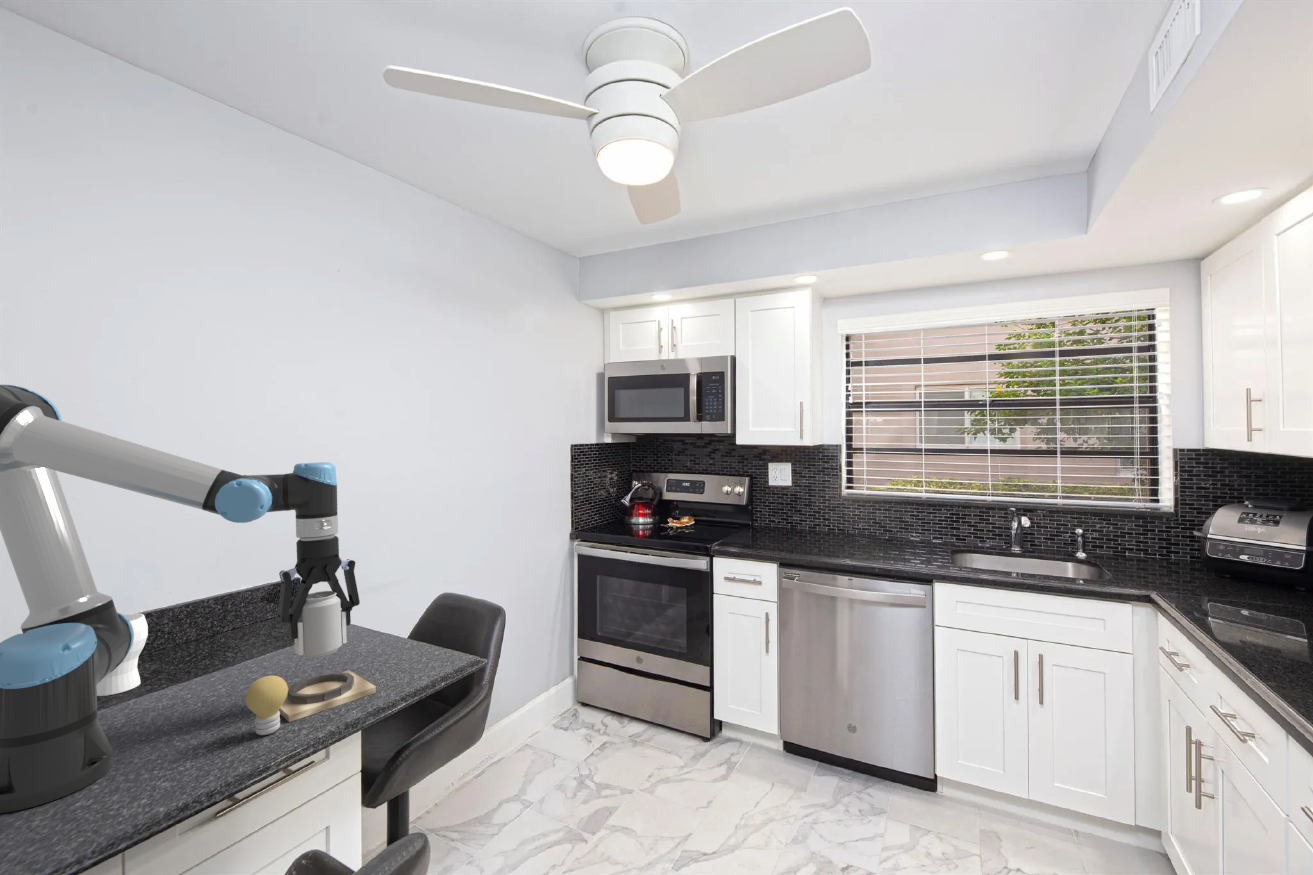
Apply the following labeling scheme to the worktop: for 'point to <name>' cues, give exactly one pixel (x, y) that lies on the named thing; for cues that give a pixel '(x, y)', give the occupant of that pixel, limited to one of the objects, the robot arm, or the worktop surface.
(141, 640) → the cup
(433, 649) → the worktop surface
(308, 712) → the board
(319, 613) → the can
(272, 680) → the light bulb
